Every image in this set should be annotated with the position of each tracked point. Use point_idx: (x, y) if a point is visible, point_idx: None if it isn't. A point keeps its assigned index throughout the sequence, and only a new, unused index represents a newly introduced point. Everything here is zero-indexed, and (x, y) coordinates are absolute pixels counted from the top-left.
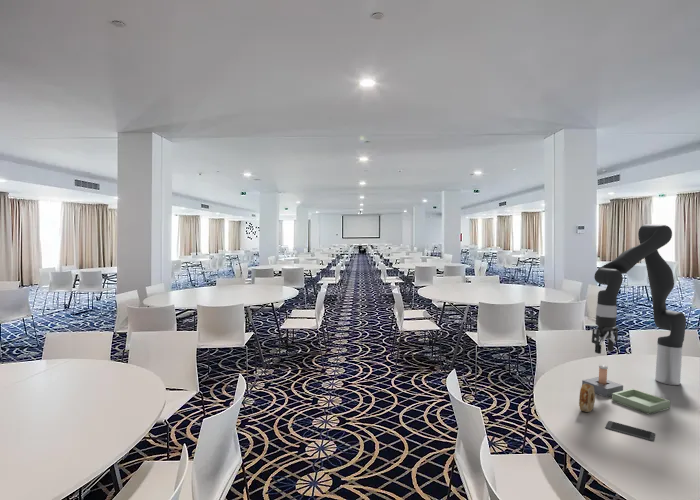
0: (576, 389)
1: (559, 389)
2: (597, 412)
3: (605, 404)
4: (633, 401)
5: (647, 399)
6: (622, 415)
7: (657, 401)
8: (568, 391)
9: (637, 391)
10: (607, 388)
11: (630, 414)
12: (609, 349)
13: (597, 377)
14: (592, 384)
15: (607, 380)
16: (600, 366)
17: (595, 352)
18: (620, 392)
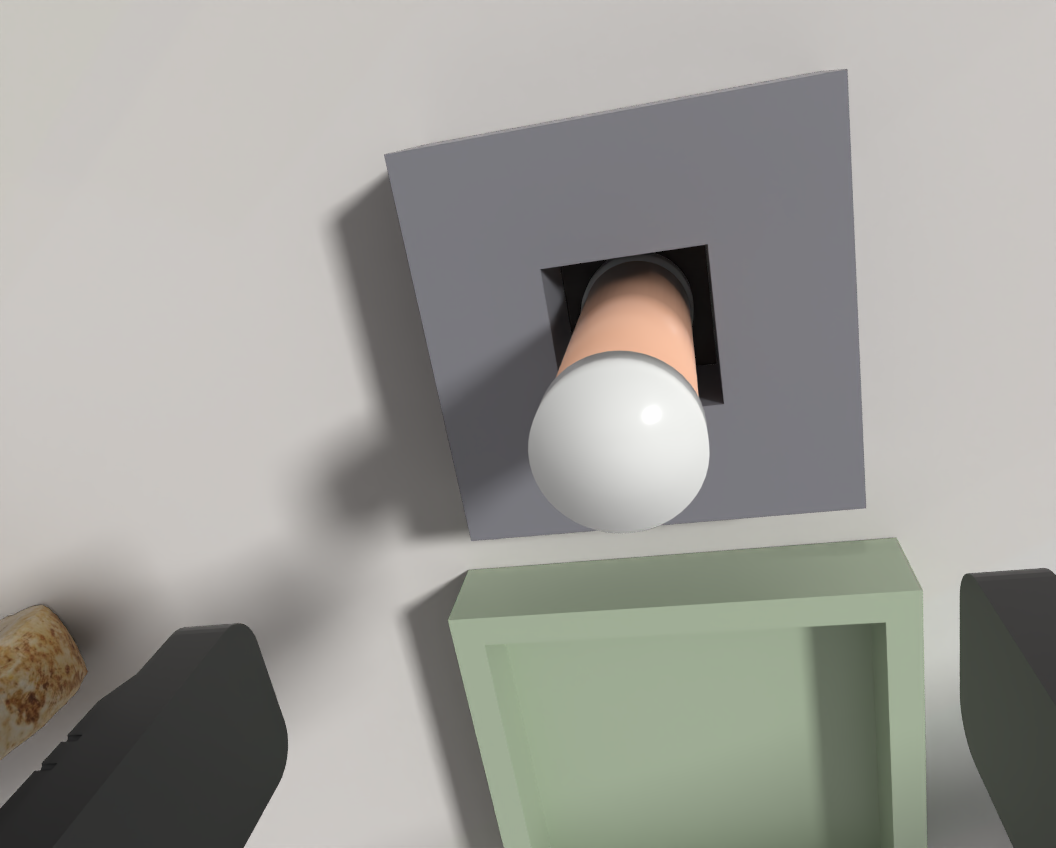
0: (304, 167)
1: (63, 105)
2: (99, 700)
3: (311, 612)
4: (497, 814)
5: (871, 723)
6: (277, 802)
7: (882, 818)
8: (144, 201)
9: (883, 659)
10: (491, 528)
11: (366, 814)
12: (979, 684)
13: (800, 96)
14: (428, 329)
15: (829, 277)
16: (528, 446)
17: (194, 633)
18: (582, 634)
